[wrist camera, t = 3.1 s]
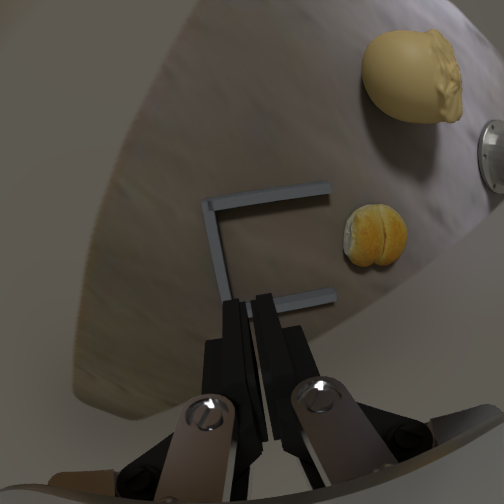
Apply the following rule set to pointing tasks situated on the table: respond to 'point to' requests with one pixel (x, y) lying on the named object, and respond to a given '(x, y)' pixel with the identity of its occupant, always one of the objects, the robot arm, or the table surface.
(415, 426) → the robot arm
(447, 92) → the pale yellow rounded lump
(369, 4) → the table surface
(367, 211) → the bread roll
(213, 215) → the bay
